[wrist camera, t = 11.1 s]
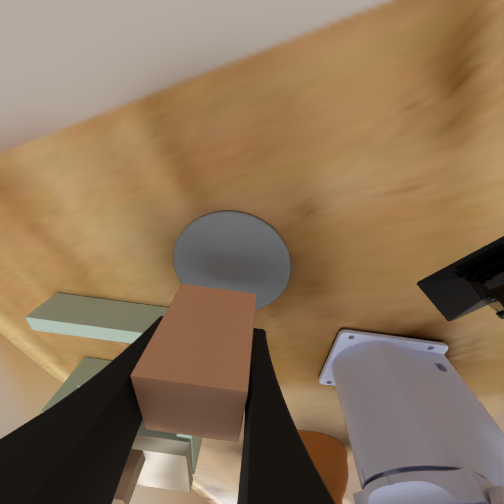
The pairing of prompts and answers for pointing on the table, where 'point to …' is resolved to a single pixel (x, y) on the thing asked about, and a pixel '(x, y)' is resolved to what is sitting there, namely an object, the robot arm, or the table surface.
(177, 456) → the lid
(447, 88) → the table surface
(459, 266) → the black small block
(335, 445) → the decorative plant
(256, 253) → the mat
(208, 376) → the block
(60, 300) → the sage green u-shaped tray
